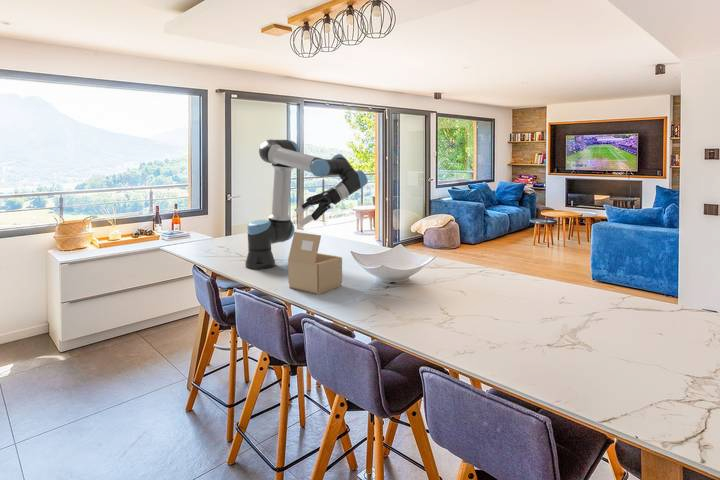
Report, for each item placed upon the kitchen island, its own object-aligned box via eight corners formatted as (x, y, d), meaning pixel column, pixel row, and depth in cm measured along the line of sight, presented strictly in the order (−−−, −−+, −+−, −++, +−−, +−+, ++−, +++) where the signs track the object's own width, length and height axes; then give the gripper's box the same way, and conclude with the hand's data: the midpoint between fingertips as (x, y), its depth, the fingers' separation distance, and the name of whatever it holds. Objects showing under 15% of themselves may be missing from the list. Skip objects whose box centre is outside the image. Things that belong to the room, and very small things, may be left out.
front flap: (288, 259, 202) (294, 231, 203) (289, 259, 202) (295, 232, 203) (314, 263, 193) (320, 235, 194) (314, 264, 193) (321, 235, 195)
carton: (287, 287, 206) (287, 258, 203) (314, 279, 219) (313, 252, 217) (318, 295, 195) (318, 264, 193) (344, 285, 208) (344, 257, 206)
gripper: (340, 187, 204) (298, 213, 200) (343, 211, 227) (306, 234, 223) (330, 174, 206) (289, 200, 202) (334, 199, 230) (297, 223, 225)
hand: (298, 218), depth 213 cm, fingers open, 13 cm apart
